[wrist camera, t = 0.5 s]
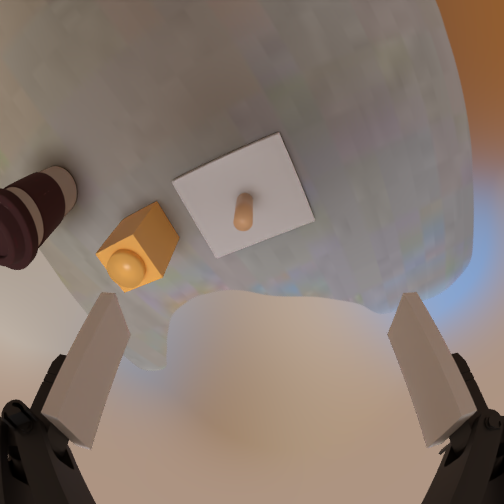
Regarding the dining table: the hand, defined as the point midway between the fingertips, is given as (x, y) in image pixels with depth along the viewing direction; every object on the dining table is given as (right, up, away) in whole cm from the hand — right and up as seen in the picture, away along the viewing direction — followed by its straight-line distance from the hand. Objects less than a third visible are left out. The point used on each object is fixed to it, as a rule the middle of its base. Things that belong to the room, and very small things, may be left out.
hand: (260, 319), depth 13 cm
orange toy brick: (-14, +6, +26) cm, 30 cm away
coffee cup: (-28, +12, +23) cm, 38 cm away
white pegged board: (-1, +10, +24) cm, 26 cm away
